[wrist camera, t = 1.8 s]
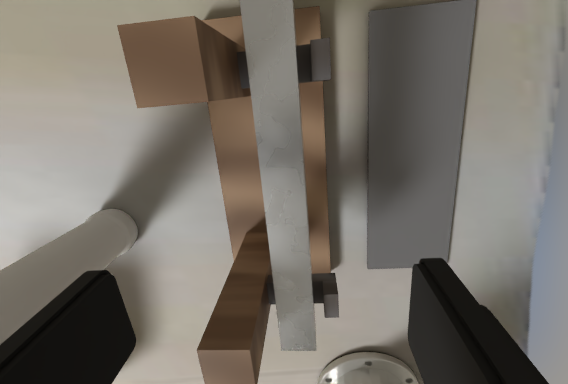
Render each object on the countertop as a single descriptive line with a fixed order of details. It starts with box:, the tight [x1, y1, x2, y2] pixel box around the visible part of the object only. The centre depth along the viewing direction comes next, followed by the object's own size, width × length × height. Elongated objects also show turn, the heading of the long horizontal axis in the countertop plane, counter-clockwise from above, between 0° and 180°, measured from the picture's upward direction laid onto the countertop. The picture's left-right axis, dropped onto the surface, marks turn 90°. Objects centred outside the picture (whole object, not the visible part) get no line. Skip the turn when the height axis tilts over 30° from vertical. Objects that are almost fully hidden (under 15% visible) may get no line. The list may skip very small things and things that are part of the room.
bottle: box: [0, 209, 138, 344], centre depth 20 cm, size 5×5×25 cm
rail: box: [240, 0, 316, 351], centre depth 18 cm, size 22×2×2 cm, turn 5°
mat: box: [367, 0, 477, 269], centre depth 27 cm, size 24×8×1 cm, turn 5°
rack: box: [117, 6, 339, 384], centre depth 21 cm, size 25×10×16 cm, turn 5°
